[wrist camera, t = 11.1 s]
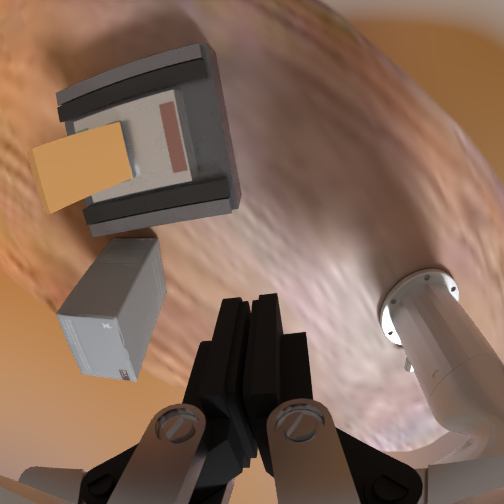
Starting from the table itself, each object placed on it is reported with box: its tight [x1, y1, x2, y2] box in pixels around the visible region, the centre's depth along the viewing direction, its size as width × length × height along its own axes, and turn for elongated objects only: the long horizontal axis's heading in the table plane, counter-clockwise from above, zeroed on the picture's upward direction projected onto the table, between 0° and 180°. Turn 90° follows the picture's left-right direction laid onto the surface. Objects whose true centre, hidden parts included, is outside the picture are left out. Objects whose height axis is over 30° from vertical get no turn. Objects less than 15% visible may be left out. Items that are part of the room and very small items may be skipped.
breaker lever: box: [27, 121, 134, 214], centre depth 22 cm, size 5×2×8 cm
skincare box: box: [56, 238, 167, 381], centre depth 32 cm, size 8×7×16 cm
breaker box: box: [56, 43, 242, 238], centre depth 29 cm, size 16×16×8 cm
